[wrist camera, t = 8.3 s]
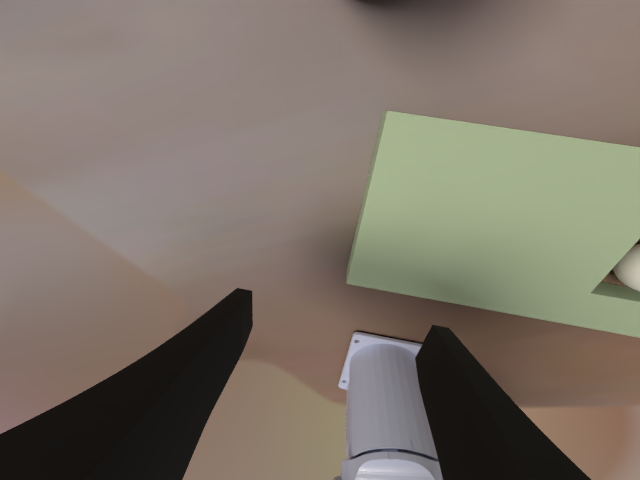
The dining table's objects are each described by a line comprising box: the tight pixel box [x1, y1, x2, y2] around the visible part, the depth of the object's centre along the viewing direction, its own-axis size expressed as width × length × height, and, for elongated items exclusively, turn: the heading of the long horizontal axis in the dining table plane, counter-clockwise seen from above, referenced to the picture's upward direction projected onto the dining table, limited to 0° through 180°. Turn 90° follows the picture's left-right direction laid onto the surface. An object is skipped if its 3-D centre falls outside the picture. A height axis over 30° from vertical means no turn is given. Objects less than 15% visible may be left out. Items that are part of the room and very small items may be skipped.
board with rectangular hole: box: [347, 111, 640, 338], centre depth 13 cm, size 12×24×7 cm, turn 83°
